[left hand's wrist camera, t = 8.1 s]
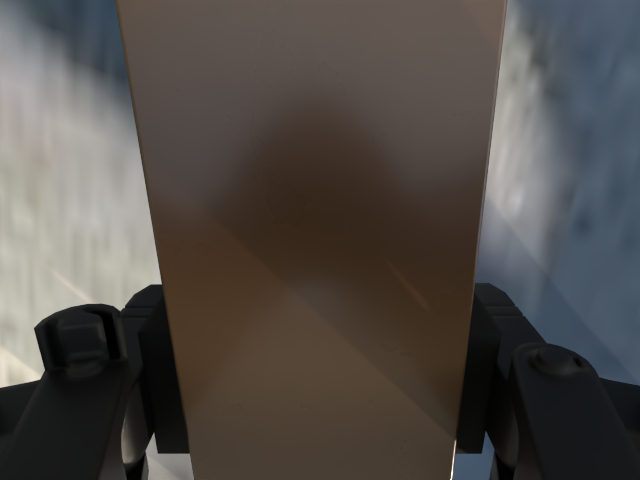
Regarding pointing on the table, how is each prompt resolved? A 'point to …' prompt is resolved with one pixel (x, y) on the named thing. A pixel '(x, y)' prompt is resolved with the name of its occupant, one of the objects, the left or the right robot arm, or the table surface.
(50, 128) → the table surface
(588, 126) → the table surface
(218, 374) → the beam
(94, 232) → the table surface
